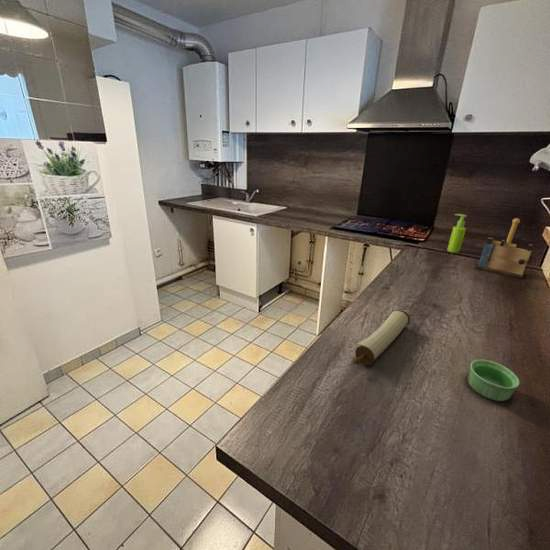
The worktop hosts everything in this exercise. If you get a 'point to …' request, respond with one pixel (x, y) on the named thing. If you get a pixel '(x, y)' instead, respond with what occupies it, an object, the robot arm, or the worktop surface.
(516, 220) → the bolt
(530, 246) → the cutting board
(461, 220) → the soap dispenser
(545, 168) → the robot arm
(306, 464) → the worktop surface
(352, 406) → the worktop surface
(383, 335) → the bamboo tube
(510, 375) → the ramekin
